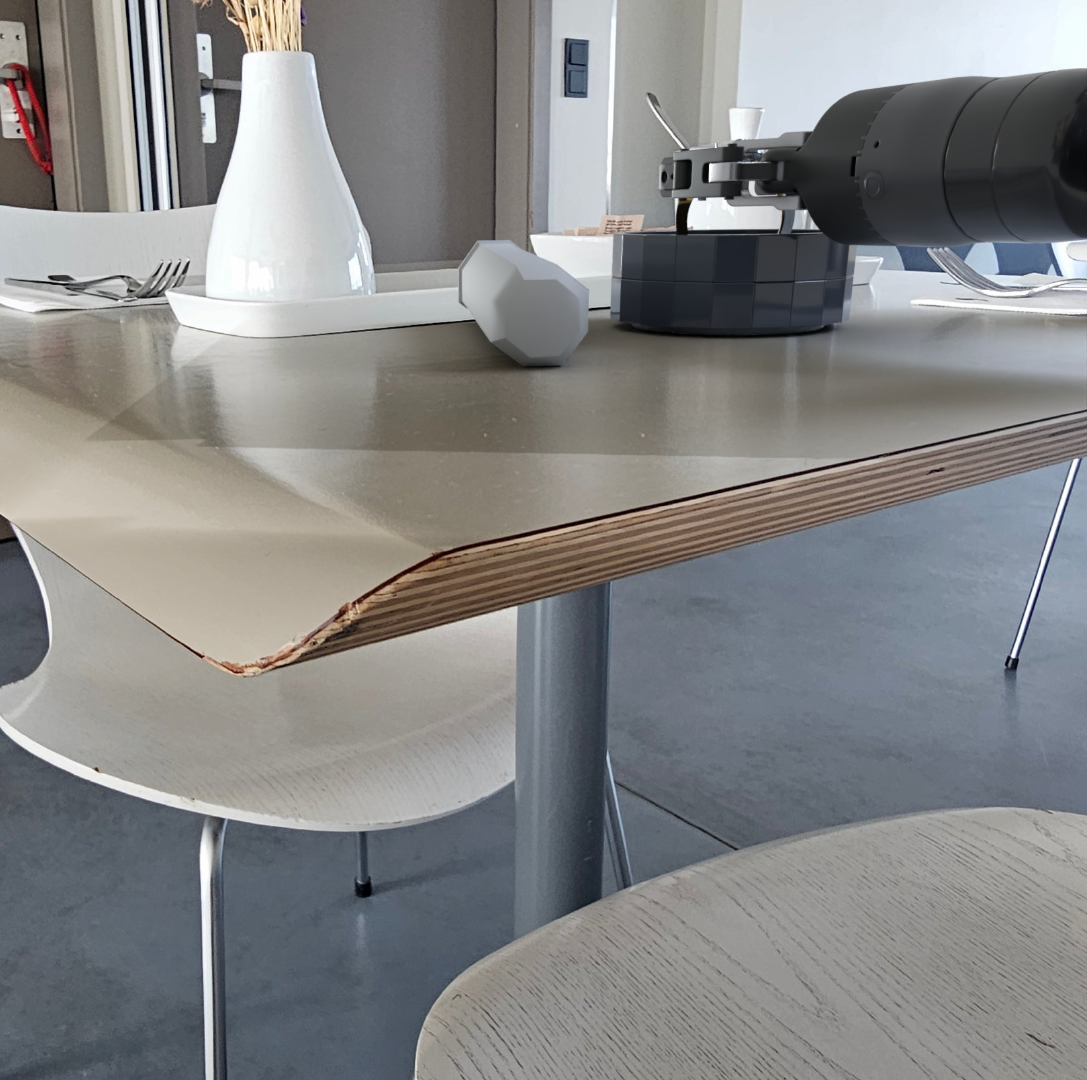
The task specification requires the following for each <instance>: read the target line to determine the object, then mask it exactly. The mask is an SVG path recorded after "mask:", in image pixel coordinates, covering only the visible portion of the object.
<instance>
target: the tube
mask: <svg viewBox="0 0 1087 1080" xmlns="http://www.w3.org/2000/svg"><path fill="white" fill-rule="evenodd" d="M457 298H458V299H457V302H458V303H459V304H460V305H461V306H463V307H464V308H465V309H467V310H468V312H469V313H470V315H471V316H472V317H473V319H474V320H475V322H476V323H477V325H478V326H479V328H480V329H481V330H482V332H483V333H484V335H485V336H486V338H487V339H488V341H489V342H490V343H491V344H492V345H494V346H495V347H496V348H498V349H499V350H500V351H501V352H503V353H504V354H505V355H507V356H508V357H510V358H511V359H512V360H514V361H515V362H516V363H517V364H518V365H520V366H522V367H557V366H561V367H562V366H564V364H565V363H566V362H567V361H568V359H569V358H570V356H572V354H573V353H574V351H575V350H576V349H577V348H578V346H579V345H580V343H581V342H582V341H583V339H584V338H585V337H586V335H587V334H588V333H589V311H590V310H589V308H590V306H589V305H590V289H589V288H588V287H586V286H585V285H584V284H583V283H581V282H580V281H579V280H578V279H576V278H575V277H574V276H573V275H571V274H570V273H568V271H566V270H565V269H563V268H562V267H561V266H560V265H559V264H558V263H555V262H553V261H550V260H548V259H545V258H544V257H542V256H538V255H536V254H534V253H531V252H529V251H527V250H525V249H522V248H521V247H520V246H518V245H517V244H516V243H514V242H513V241H512V240H511V239H498V240H494V239H493V240H476V241H475V243H474V245H473V246H472V248H471V249H470V251H468V253H467V255H466V256H465V258H464V259H463V260H462V262H461V263H460V265H458V268H457Z"/></svg>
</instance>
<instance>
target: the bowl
mask: <svg viewBox="0 0 1087 1080" xmlns="http://www.w3.org/2000/svg"><path fill="white" fill-rule="evenodd" d="M778 231H779V228H713V229H710V228H709V229H706V228H705V229H688V233H689V235H677V231H676V229H667V230H665V229H664V230H663V229H662V230H661V229H660V230H635V231H634V230H633V231H632V230H630V231H616V232H614V233H612V251H611V252H612V254H611V256H612V257H611V280H610V281H611V283H610V284H611V285H610V287H611V288H610V309H609V310H610V312H609V315H610V316H609V318H610V319H611V320H614V321H616V322H619V323H625V324H631V327H632V328H635V329H637V330H642V331H647V332H654V333H663V334H675V335H692V336H693V335H695V336H739V337H740V336H773V335H774V336H775V335H776V336H777V335H791V334H803V333H810V332H815V331H819V330H822V329H824V328H825V326H828V325H834V324H840V323H843V322H847V321H848V320H850V314H851V305H852V298H853V297H852V295H853V287H854V277H855V267H856V260H857V259H856V258H857V250H858V249H857V248H858V245H845V244H841V243H838V242H836V241H834V240H832V239H830V238H829V237H827V236H826V235H825V234H823V233H822V232H821V231H820V230H819V229H818V228H792V231H791V234H778Z"/></svg>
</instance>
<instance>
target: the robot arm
mask: <svg viewBox="0 0 1087 1080" xmlns="http://www.w3.org/2000/svg"><path fill="white" fill-rule="evenodd" d="M749 139H750V140H748V139H746V140H737V139H735V140H736V141H734V142H733V143H731V144H730V143H727V144H726V145H727V146H721V147H716V148H715V147H708V148H699V149H690V147H689V148H688V147H687V148H680V149H679V151H673V154H672V155H673V156H669V157H668V156H667V157H664V158H663V159H662V160H661V162H660V164H659V165H658V186H657V187H658V191H659V194H660V196H661V197H662V198H671V199H677V202H678V201H687V198H694V199H696V201H697V202H705V201H706V202H707V199H712V198H715V199H716V198H718V199H719V198H722V199H723V200H724V201H726V203H727V204H728V206H730V207H734V208H735V207H737V208H738V207H774V208H775V209H776V210H777V211H780V212H781V211H783V210H795V211H807V212H808V214H809V216H810V218H811V221H812V222H813V223H814V225H815V226H816V227H817V229H819V230H820V231H821V232H822V233H823V234H825V235H826V236H827V237H829V238H830V239H832V240H834V241H836V242H838V243H841V244H845V245H857V246H864V247H865V246H867V247H868V246H869V247H871V246H872V247H873V246H874V247H910V248H911V247H914V248H915V247H917V248H954V247H962V246H963V247H964V246H969V245H975V244H983V243H984V244H985V243H995V244H1056V243H1064V242H1065V243H1067V242H1075V241H1076V242H1077V241H1087V67H1083V68H1082V67H1077V68H1062V69H1057V70H1049V71H1041V72H1033V73H1026V74H1025V73H1024V74H1018V75H1011V76H1010V75H1009V76H983V75H982V76H981V75H967V76H955V77H954V76H953V77H947V78H940V79H932V80H925V81H918V82H912V83H911V82H910V83H904V84H896V85H888V86H881V87H873V88H866V89H860V90H855V91H853V92H851V93H848V94H846V95H844V96H843V97H841V98H839V99H838V100H837V101H835V102H834V103H833V104H832V105H831V106H829V108H828V109H827V110H826V111H825V112H824V113H823V114H822V116H821V117H820V118H819V120H818V121H817V123H816V125H815V126H814V128H813V130H807V131H805V130H803V131H787V132H783V133H782V134H781V135H780V136H778V137H769V138H753V139H751V138H749ZM769 149H770V150H769ZM757 150H759V151H764V150H768V151H767V152H765V153H764V154H762V155H761V157H760V158H759V160H758V162H750V160H751V156H752V154H753V153H754V152H755V151H757ZM750 182H754V186H753V189H754V193H755V195H756V196H755V195H753V194H752V193H751V191H750ZM776 194H785V196H777V195H776Z"/></svg>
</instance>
